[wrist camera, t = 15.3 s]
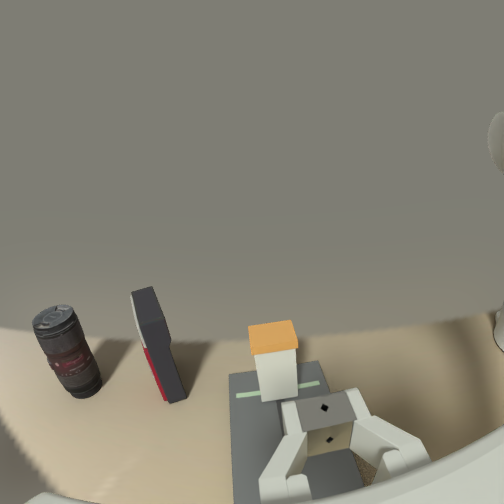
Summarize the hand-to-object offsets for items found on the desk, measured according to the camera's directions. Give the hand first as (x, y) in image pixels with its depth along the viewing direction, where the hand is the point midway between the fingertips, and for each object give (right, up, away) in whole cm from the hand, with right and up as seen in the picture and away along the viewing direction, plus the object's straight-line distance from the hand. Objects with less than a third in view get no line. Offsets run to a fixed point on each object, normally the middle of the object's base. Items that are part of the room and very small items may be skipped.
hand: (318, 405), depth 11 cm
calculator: (-16, -15, +37) cm, 43 cm away
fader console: (+2, -17, +25) cm, 30 cm away
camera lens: (-32, -18, +35) cm, 51 cm away
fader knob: (+1, -14, +31) cm, 34 cm away
